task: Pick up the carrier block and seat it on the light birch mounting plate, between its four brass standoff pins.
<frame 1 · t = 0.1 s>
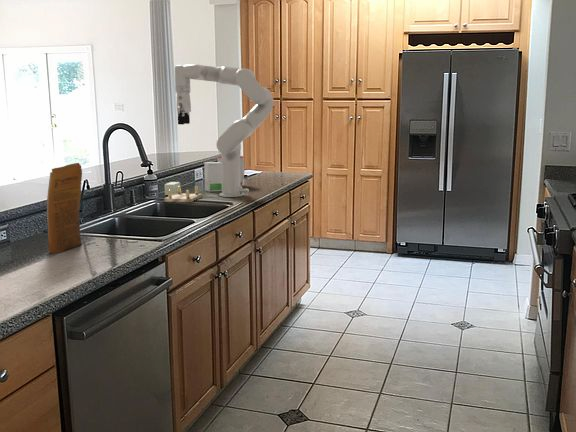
hand: (183, 124, 318), 37 cm above the worktop, tool pointing down, fingers open, 9 cm apart
carrier block: (172, 194, 327), on the worktop
citrus juicer: (231, 186, 357), on the worktop
pancake mix bag: (67, 248, 208), on the worktop
mount plate: (183, 199, 310), on the worktop
skincare box: (213, 191, 338), on the worktop
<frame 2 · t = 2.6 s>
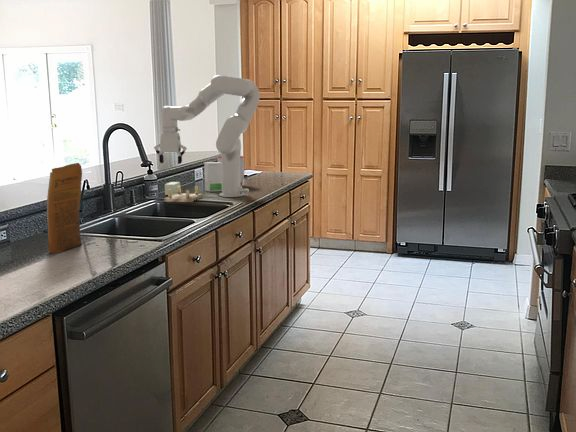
hand: (170, 163, 324), 16 cm above the worktop, tool pointing down, fingers open, 9 cm apart
nothing on the worktop moved.
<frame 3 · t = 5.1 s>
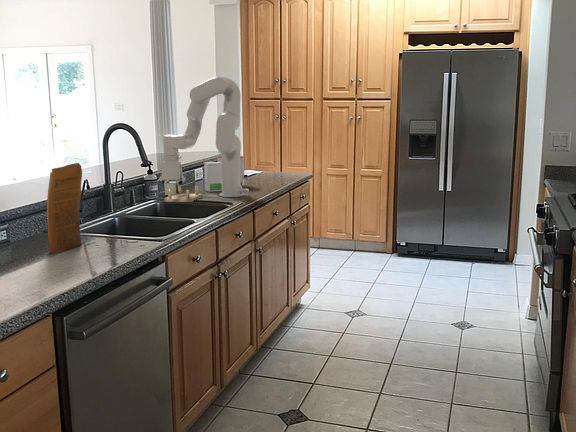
hand: (172, 192, 327), 1 cm above the worktop, tool pointing down, fingers closed on carrier block, 5 cm apart
carrier block: (172, 194, 327), on the worktop, touching gripper
everything else where it was.
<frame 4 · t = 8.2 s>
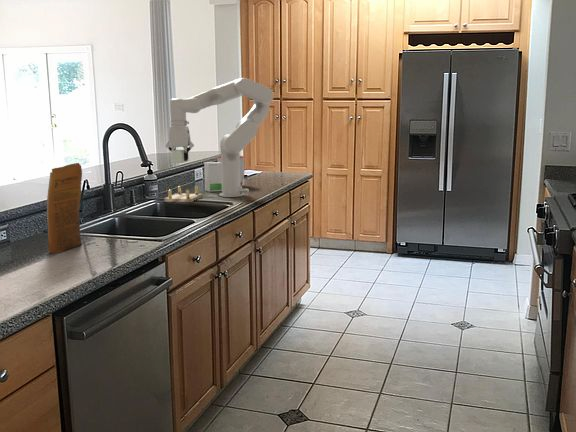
hand: (180, 160, 310), 19 cm above the worktop, tool pointing down, fingers closed on carrier block, 5 cm apart
carrier block: (180, 161, 310), point 18 cm above the worktop, touching gripper
everything else where it was.
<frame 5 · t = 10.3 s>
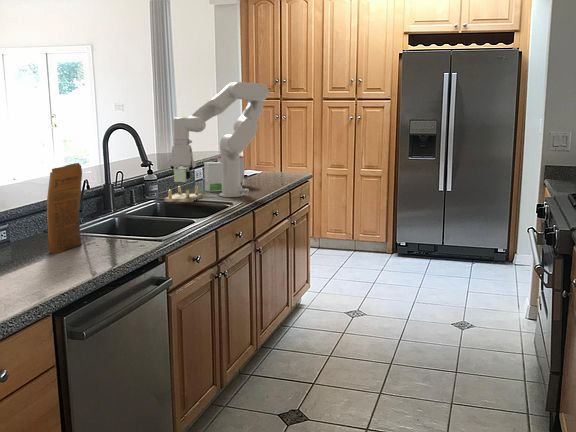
hand: (182, 178, 308), 10 cm above the worktop, tool pointing down, fingers closed on carrier block, 5 cm apart
carrier block: (182, 180, 309), point 9 cm above the worktop, touching gripper
everything else where it was.
when the fingers open (4 cm above the worktop, at t = 11.8 s): carrier block drops 2 cm, resting on mount plate.
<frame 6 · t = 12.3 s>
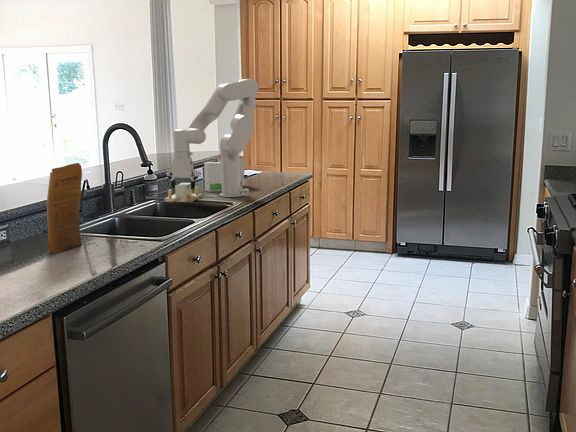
hand: (183, 188, 309), 5 cm above the worktop, tool pointing down, fingers open, 9 cm apart
carrier block: (183, 196, 310), point 1 cm above the worktop, touching mount plate
everything else where it was.
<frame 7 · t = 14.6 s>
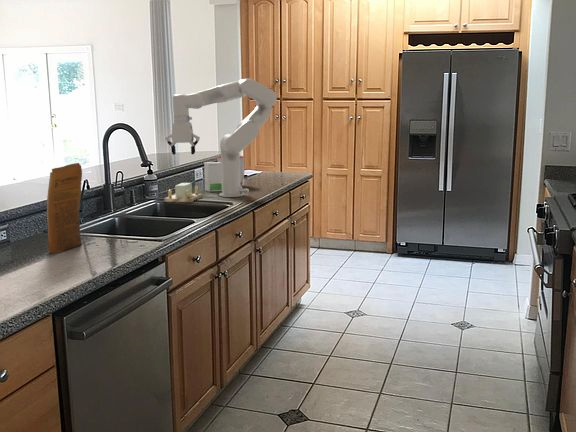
hand: (183, 154, 310), 22 cm above the worktop, tool pointing down, fingers open, 9 cm apart
nothing on the worktop moved.
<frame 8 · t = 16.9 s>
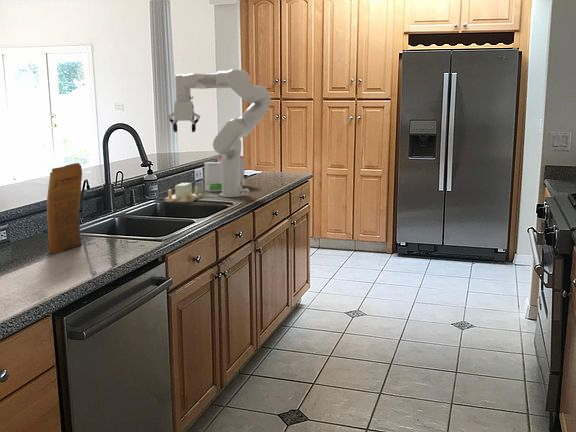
hand: (184, 131, 325), 32 cm above the worktop, tool pointing down, fingers open, 9 cm apart
nothing on the worktop moved.
at the end: carrier block 0.2 cm off-centre on the mount plate, point 1.5 cm above the mount plate's base; carrier block tilted 0°; the gripper is holding nothing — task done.
